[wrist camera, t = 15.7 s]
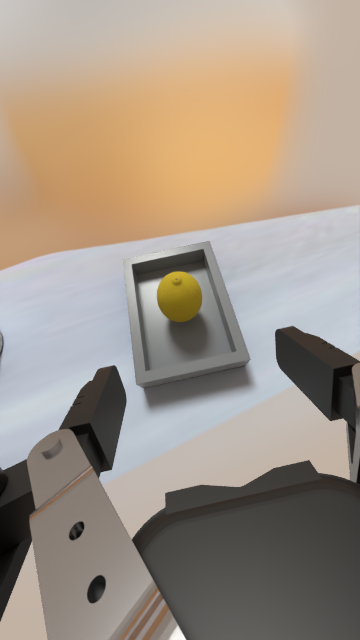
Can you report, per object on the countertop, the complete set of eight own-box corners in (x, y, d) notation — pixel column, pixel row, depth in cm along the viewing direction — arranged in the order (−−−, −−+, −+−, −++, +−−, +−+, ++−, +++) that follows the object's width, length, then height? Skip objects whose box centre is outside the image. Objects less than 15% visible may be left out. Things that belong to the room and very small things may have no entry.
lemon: (157, 326, 29) (143, 296, 22) (168, 292, 31) (159, 254, 24) (197, 334, 28) (196, 306, 21) (205, 299, 30) (207, 262, 23)
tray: (143, 387, 27) (136, 384, 24) (129, 273, 34) (122, 259, 31) (244, 365, 27) (250, 359, 24) (208, 256, 34) (209, 240, 31)
